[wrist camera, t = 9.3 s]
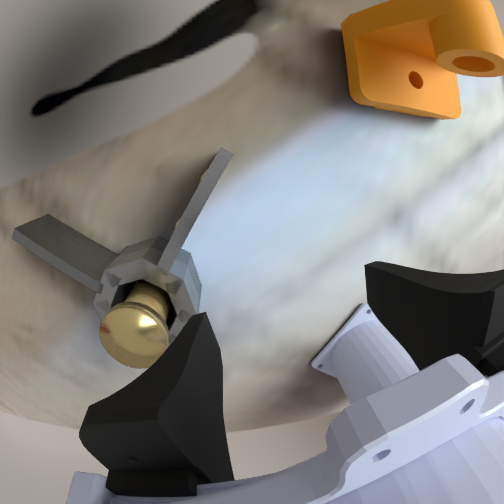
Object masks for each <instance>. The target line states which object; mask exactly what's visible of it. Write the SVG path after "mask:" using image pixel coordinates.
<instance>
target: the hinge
mask: <svg viewBox="0 0 504 504" xmlns="http://www.w3.org/2000/svg"><path fill="white" fill-rule="evenodd" d="M233 155H234V154H232V153H231V152H229V151H227V150H225V149H223V148H222V147H221V148H220V149H219V151H218V153H217V155H216V156H215V158H214V160H213V161H212V163H211V165H210V166H209V168H208V169H206V170H205V172H204V173H203V175H202V177H201V179H200V181H199V183H200V184H199V186H198V188H197V189H196V191H195V193H194V195H193V197H192V198H191V200H190V202H189V204H188V206H187V208H186V210H185V211H184V213H183V215H182V217H180V218H179V219H178V221H177V223H176V225H175V227H174V229H173V230H174V233H173V234H172V236H171V238H170V240H169V242H168V241H166V240H164V239H162V238H160V237H156V238H153V239H150V240H146V241H143V242H140V243H137V244H134V245H131V246H128V247H126V248H125V249H124V250H123V251H122V252H121V253H120V254H119V255H118V254H116V253H114V252H112V251H111V250H109V249H107V248H105V247H103V246H102V245H100V244H98V243H96V242H95V241H93V240H91V239H89V238H88V237H86V236H84V235H83V234H81V233H79V232H77V231H76V230H74V229H72V228H71V227H69V226H67V225H66V224H64V223H62V222H61V221H59V220H57V219H56V218H54V217H53V216H51V215H49V214H47V215H45V216H42V217H40V218H37V219H35V220H32V221H30V222H28V223H25V224H23V225H21V226H18V227H16V228H14V232H13V236H12V239H13V240H15V241H16V242H18V243H19V244H21V245H22V246H23V247H25V248H26V249H28V250H29V251H31V252H32V253H34V254H35V255H37V256H38V257H40V258H41V259H43V260H44V261H46V262H47V263H49V264H50V265H52V266H53V267H55V268H57V269H58V270H60V271H61V272H63V273H65V274H66V275H68V276H69V277H71V278H73V279H74V280H76V281H78V282H79V283H81V284H83V285H85V286H86V287H88V288H90V289H91V290H93V291H95V292H97V293H96V296H95V299H94V302H93V305H94V307H95V309H96V311H97V313H98V315H99V317H100V319H101V321H103V319H104V318H105V316H106V315H107V313H108V312H109V310H110V309H111V308H112V307H113V306H115V305H117V304H119V303H122V302H125V300H126V299H127V297H128V295H129V294H130V292H131V290H132V289H133V287H134V286H133V283H132V282H133V281H136V280H140V279H144V280H146V281H148V282H150V283H152V284H154V285H156V286H158V287H160V288H162V289H163V290H165V291H167V292H168V294H169V296H170V298H171V301H172V303H171V307H170V310H169V313H168V316H167V319H166V324H167V327H168V330H169V343H168V347H169V346H170V344H171V343H172V342H173V341H174V339H175V338H176V337H177V335H178V334H179V333H180V331H181V330H182V328H183V327H184V326H185V324H186V323H187V321H188V320H189V319H190V317H191V316H192V315H195V314H199V304H200V295H201V286H202V285H201V283H200V280H199V277H198V274H197V271H196V268H195V265H194V263H193V260H192V257H191V253H189V252H187V251H185V250H183V249H181V247H182V245H183V244H184V242H185V240H186V238H187V236H188V234H189V232H190V230H191V228H192V227H193V225H194V223H195V221H196V219H197V217H198V216H199V214H200V212H201V210H202V208H203V207H204V205H205V203H206V201H207V199H208V198H209V196H210V194H211V192H212V191H213V189H214V187H215V185H216V184H217V182H218V180H219V178H220V177H221V175H222V173H223V171H224V170H225V168H226V166H227V165H228V163H229V161H230V160H231V158H232V156H233ZM168 347H167V348H168Z"/></svg>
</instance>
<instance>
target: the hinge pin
mask: <svg viewBox="0 0 504 504" xmlns="http://www.w3.org/2000/svg"><path fill="white" fill-rule="evenodd" d="M171 303H172V301H171V298H170V296H169V294H168V292H167V291H165V290H163V289H162V288H160V287H158V286H156V285H154V284H152V283H150V282H148V281H146V280H144V279H140V280H138V281H137V283H136V284H135V286H134V287H133V289H132V290H131V292H130V294H129V295H128V297H127V299H126V300H125V302H122V303H119V304H117V305H115V306H113V307H112V308H111V309H110V310H109V312H108V313H107V315H106V316H105V318H104V319H103V321H102V323H101V326H100V339H101V342H102V344H103V346H104V348H105V349H106V351H107V352H108V353H109V354H110V355H111V356H112V357H113V358H114V359H115V360H117V361H118V362H120V363H122V364H124V365H126V366H129V367H133V368H149V367H150V366H151V365H153V364H154V363H155V362H156V361H157V360H158V359H159V357H160V356H161V355H162V354H163V353H164V352H165V351H166V349H167V347H168V343H169V330H168V327H167V324H166V319H167V316H168V313H169V310H170V307H171Z"/></svg>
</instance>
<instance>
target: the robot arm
mask: <svg viewBox="0 0 504 504" xmlns="http://www.w3.org/2000/svg"><path fill="white" fill-rule="evenodd" d="M364 266H365V277H366V289H367V303H363V304H362V305H361V306H360V307H359V308H358V309H357V311H356V312H355V313H354V314H353V315H352V317H351V318H350V319H349V320H348V321H347V323H346V324H345V325H344V326H343V327H342V328H341V330H340V331H339V332H338V333H337V334H336V335H335V336H334V338H333V339H332V340H331V341H330V342H329V343H328V344H327V345H326V347H325V348H324V349H323V350H322V351H321V352H320V353H319V354H318V355H317V356H316V357H315V358H314V360H313V361H312V362H311V365H312V367H313V368H315V369H317V370H319V371H321V372H324V373H326V374H328V375H330V376H333V377H335V378H337V379H338V381H339V383H340V385H341V387H342V389H343V391H344V393H345V394H346V396H347V398H348V400H349V402H350V404H351V405H349V406H347V407H346V408H345V409H344V410H343V411H342V412H341V413H340V414H339V415H338V416H337V417H336V418H335V419H333V420H332V422H331V423H330V425H329V428H328V431H327V434H326V443H327V450H326V451H324V452H323V453H320V454H318V455H316V456H314V457H312V458H310V459H308V460H305V461H303V462H301V463H299V464H296V465H294V466H292V467H289V468H287V469H285V470H282V471H280V472H276V473H272V474H267V475H263V476H258V477H252V478H247V479H241V480H234V476H233V471H232V466H231V461H230V456H229V451H228V445H227V439H226V432H225V425H224V418H223V366H222V358H221V351H220V347H219V345H218V342H217V340H216V337H215V335H214V332H213V330H212V327H211V325H210V322H209V319H208V317H207V314H206V312H203V313H199V314H195V315H192V316H191V317H190V319H189V320H188V321H187V323H186V324H185V326H184V327H183V328H182V330H181V331H180V333H179V334H178V335H177V337H176V338H175V339H174V341H173V342H172V343H171V344H170V346H169V347H168V348H167V349H166V351H165V352H164V353H163V354H162V355H161V356H160V357H159V359H158V360H157V361H156V362H155V363H154V364H153V365H151V366H150V367H149V368H148V369H147V370H146V371H145V372H144V373H142V374H141V375H140V376H139V377H137V378H136V379H135V380H134V381H132V382H131V383H130V384H128V385H127V386H125V387H124V388H122V389H121V390H119V391H117V392H116V393H114V394H112V395H111V396H109V397H107V398H105V399H103V400H101V401H99V402H97V403H95V404H92V405H90V406H89V407H88V410H87V412H86V415H85V418H84V420H83V423H82V426H81V428H80V431H79V438H80V440H81V442H82V444H83V446H84V447H85V448H86V449H87V450H88V451H89V452H90V453H91V454H92V455H93V456H94V457H95V458H96V459H97V460H98V461H99V462H100V463H102V464H103V465H104V466H105V467H106V468H107V469H108V470H109V472H108V477H105V476H103V475H100V474H94V473H85V472H74V476H73V480H72V483H71V486H70V490H69V494H68V498H67V502H66V504H504V270H499V271H494V272H486V273H476V274H450V273H438V272H431V271H425V270H419V269H414V268H409V267H405V266H400V265H396V264H391V263H386V262H380V261H375V262H372V263H369V264H366V265H364ZM369 309H370V310H369ZM367 310H369V311H368V312H367ZM320 364H321V365H320ZM319 365H320V366H319Z"/></svg>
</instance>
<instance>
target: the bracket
mask: <svg viewBox="0 0 504 504" xmlns="http://www.w3.org/2000/svg"><path fill="white" fill-rule="evenodd" d="M341 27H342V34H343V40H344V48H345V55H346V63H347V72H348V82H349V92H350V95H351V97H352V99H353V100H354V101H355V102H356V103H358V104H361V105H367V106H374V108H375V109H382V110H389V111H395V112H400V113H406V114H411V115H416V116H421V117H433V118H438V119H442V120H444V119H457V118H459V117H460V115H461V105H460V96H459V89H458V82H457V75H456V73H457V74H461V75H467V76H475V77H496V76H501V75H504V39H503V35H502V32H501V29H500V26H499V23H498V20H497V17H496V14H495V12H494V9H493V6H492V4H491V2H490V1H489V0H391V1H387V2H384V3H381V4H378V5H376V6H373V7H370V8H367V9H364V10H362V11H359V12H357V13H354V14H352V15H350V16H349V17H348V18H347V19H345V20H344V21H343V22H342V23H341Z"/></svg>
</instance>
